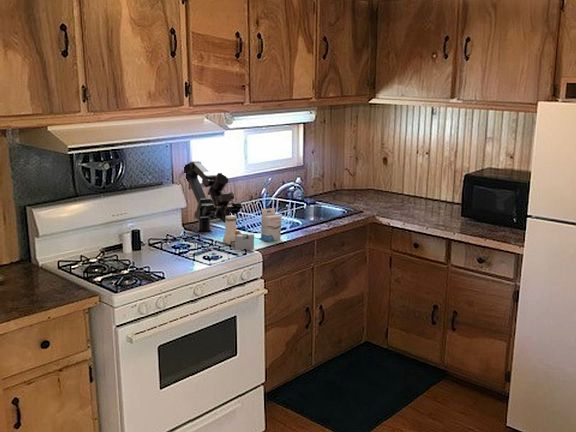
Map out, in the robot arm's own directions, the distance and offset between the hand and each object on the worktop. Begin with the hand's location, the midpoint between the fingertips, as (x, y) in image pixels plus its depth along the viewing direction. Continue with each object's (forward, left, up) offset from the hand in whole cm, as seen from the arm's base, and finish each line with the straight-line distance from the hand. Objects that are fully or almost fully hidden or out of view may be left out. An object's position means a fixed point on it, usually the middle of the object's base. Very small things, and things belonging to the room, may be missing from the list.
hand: (228, 224), depth 290 cm
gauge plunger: (+12, +5, -4) cm, 13 cm away
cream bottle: (+3, +1, -8) cm, 9 cm away
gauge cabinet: (+14, +6, -8) cm, 18 cm away
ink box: (-2, +21, -8) cm, 22 cm away
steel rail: (+6, +2, -8) cm, 10 cm away
